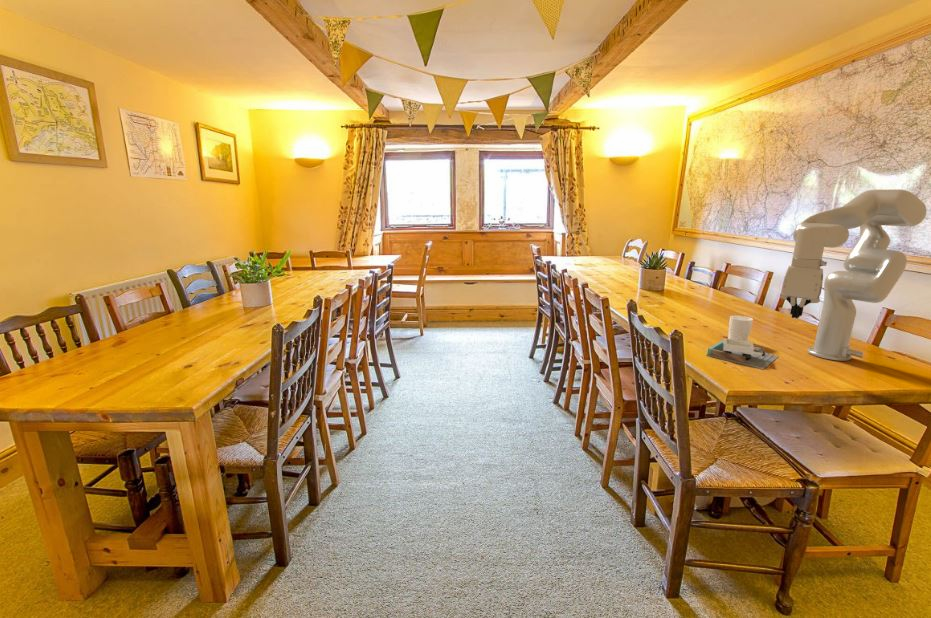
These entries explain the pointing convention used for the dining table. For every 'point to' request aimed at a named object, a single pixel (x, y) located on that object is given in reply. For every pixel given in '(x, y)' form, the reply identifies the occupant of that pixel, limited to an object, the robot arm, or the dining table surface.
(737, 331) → the white cup
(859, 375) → the dining table surface
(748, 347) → the trolley
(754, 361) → the dock
